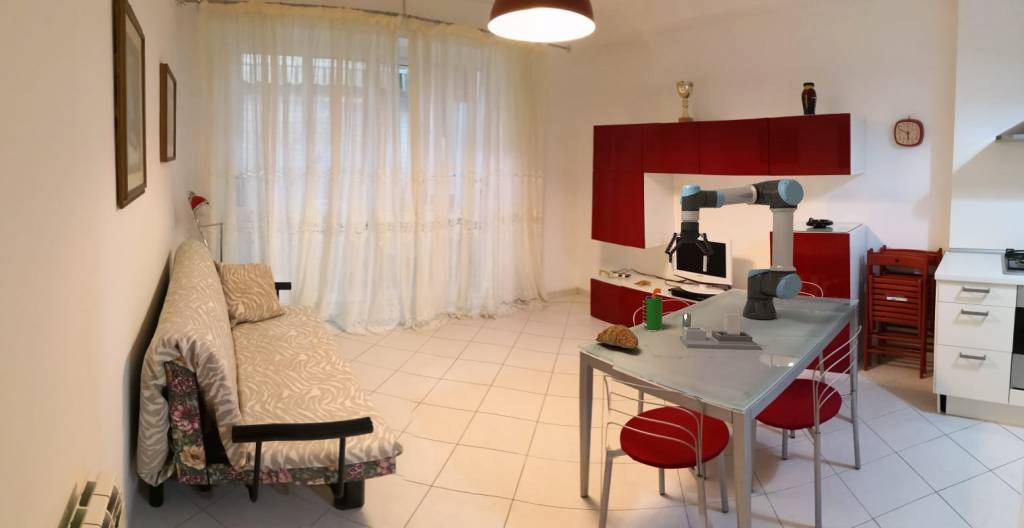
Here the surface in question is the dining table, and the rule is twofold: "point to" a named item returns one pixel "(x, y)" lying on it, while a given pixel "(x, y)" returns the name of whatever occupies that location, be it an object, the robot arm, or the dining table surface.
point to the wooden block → (732, 324)
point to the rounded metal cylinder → (686, 320)
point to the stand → (716, 340)
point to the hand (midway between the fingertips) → (688, 270)
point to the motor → (653, 311)
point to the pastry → (618, 337)
